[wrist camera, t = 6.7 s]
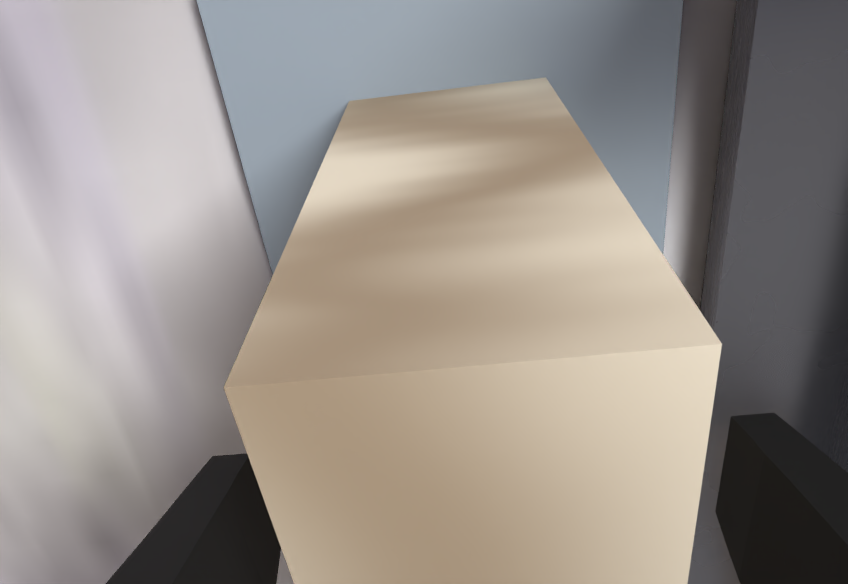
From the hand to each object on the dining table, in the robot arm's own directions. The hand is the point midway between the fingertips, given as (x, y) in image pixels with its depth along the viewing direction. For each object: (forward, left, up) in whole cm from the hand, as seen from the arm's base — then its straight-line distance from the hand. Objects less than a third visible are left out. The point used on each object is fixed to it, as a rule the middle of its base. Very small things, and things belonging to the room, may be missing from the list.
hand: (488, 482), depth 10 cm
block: (0, 0, -5) cm, 5 cm away
